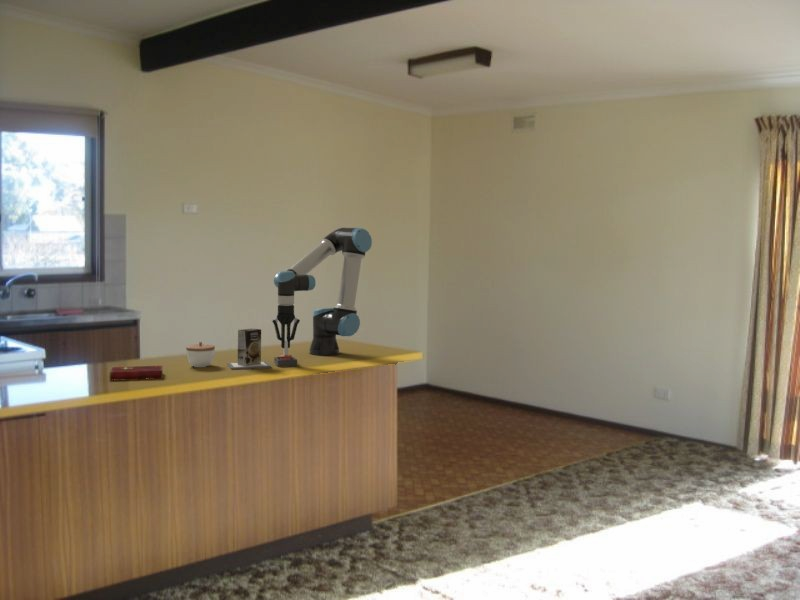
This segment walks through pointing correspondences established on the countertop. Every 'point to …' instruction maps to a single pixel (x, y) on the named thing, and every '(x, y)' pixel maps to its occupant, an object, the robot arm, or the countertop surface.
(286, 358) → the button
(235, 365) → the board
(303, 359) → the countertop surface
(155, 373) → the hardcover book
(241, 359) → the coffee box
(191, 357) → the lidded bowl
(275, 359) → the button housing
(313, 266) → the robot arm
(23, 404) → the countertop surface
